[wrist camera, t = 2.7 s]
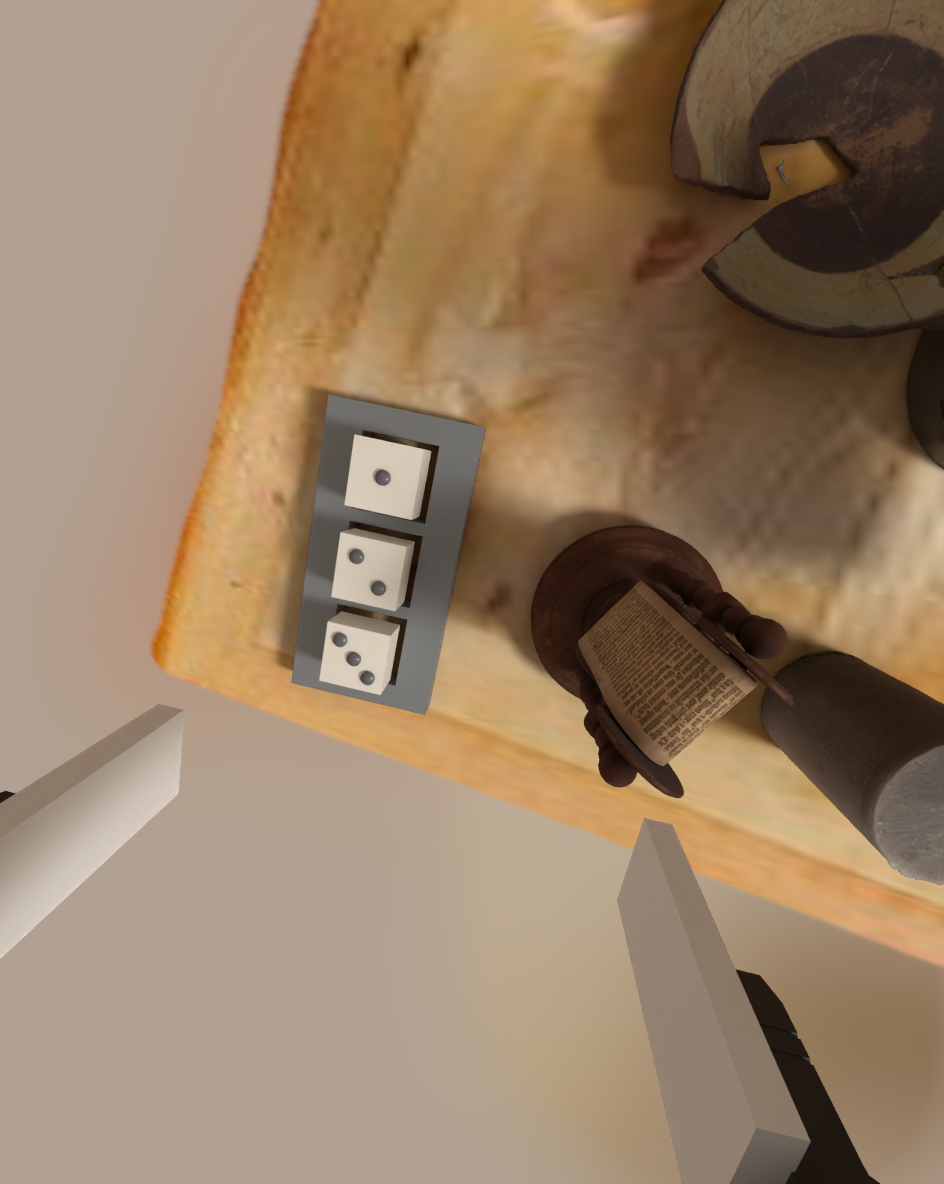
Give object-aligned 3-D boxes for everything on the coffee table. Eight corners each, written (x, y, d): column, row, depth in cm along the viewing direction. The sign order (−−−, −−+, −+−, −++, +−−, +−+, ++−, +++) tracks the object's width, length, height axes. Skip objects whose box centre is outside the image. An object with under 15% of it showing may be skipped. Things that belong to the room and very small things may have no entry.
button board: (337, 398, 40) (328, 394, 38) (485, 429, 39) (483, 426, 37) (301, 674, 45) (291, 682, 43) (429, 704, 45) (425, 714, 43)
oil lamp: (694, 407, 37) (736, 388, 30) (607, -75, 32) (633, -246, 24) (1035, 309, 34) (1180, 260, 26) (1005, -252, 28) (1178, -515, 21)
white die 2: (353, 528, 40) (339, 532, 36) (415, 541, 39) (405, 547, 36) (344, 588, 41) (330, 597, 38) (404, 601, 41) (394, 612, 37)
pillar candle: (801, 632, 40) (959, 720, 26) (911, 681, 40) (1131, 797, 26) (737, 730, 43) (849, 863, 28) (841, 777, 43) (1007, 933, 28)
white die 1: (367, 437, 38) (353, 434, 35) (431, 451, 38) (423, 449, 35) (357, 502, 39) (343, 505, 36) (419, 516, 39) (410, 520, 36)
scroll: (620, 484, 39) (717, 492, 20) (753, 608, 40) (970, 731, 21) (494, 618, 42) (471, 737, 23) (620, 728, 44) (700, 931, 24)
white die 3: (341, 611, 41) (326, 622, 38) (400, 624, 41) (390, 636, 38) (333, 666, 42) (318, 681, 39) (390, 679, 42) (379, 696, 39)
